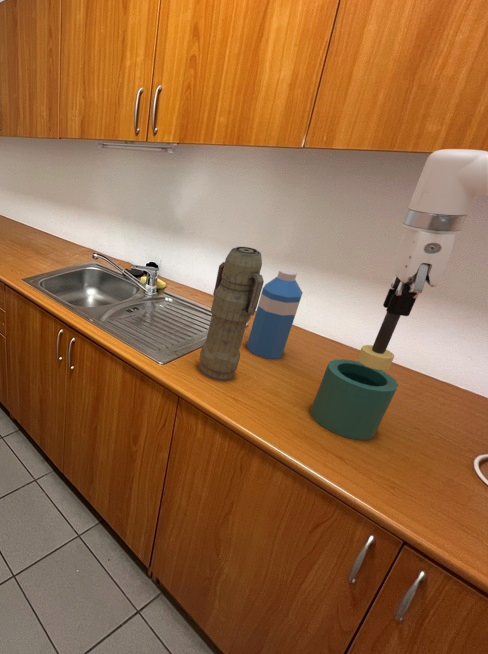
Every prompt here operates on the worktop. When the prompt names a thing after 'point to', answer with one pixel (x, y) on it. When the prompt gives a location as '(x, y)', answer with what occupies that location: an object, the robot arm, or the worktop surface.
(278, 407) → the worktop surface
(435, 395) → the worktop surface
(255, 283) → the thermos
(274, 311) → the water bottle
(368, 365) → the joystick
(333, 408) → the teal hollow cylinder
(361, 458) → the worktop surface
